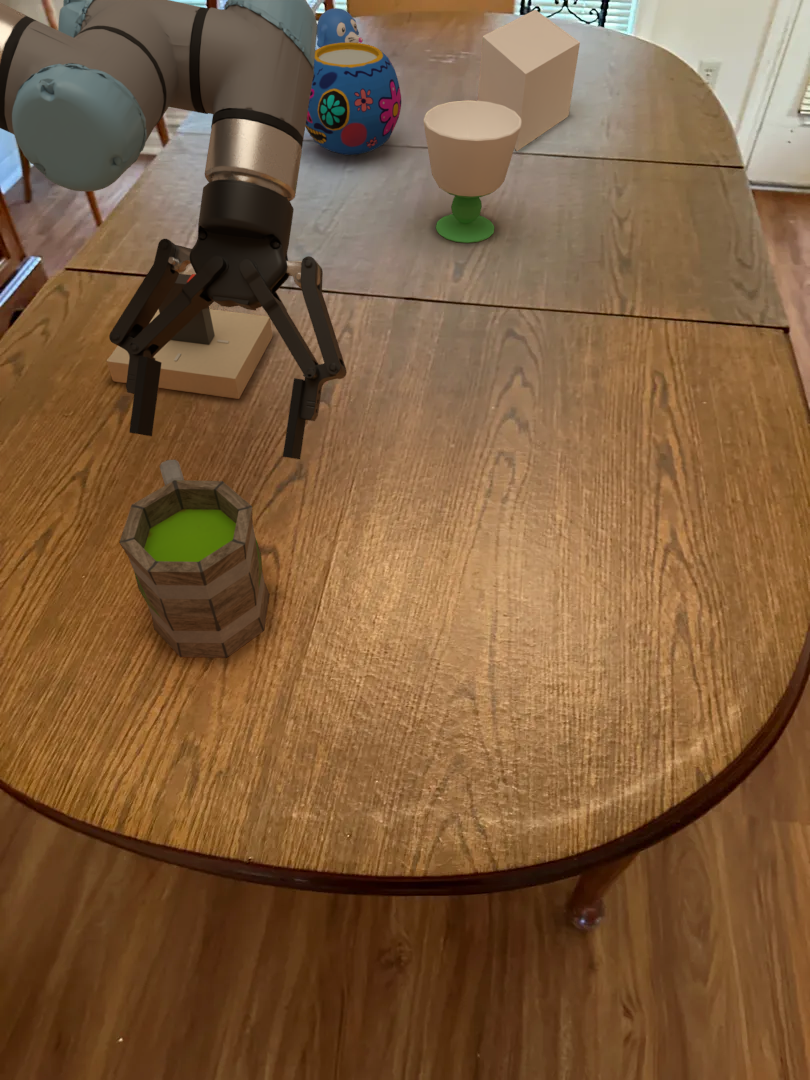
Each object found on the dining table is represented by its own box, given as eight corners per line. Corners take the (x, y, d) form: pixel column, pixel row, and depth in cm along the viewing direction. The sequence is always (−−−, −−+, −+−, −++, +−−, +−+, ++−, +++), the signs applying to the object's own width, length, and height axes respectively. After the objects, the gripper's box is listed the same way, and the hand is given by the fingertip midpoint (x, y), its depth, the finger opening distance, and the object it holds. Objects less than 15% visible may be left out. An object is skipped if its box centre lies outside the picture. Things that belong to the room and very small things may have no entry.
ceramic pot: (281, 146, 139) (270, 51, 128) (357, 120, 147) (354, 28, 136) (343, 180, 131) (338, 81, 119) (421, 150, 139) (423, 55, 127)
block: (467, 147, 140) (473, 70, 130) (484, 76, 162) (490, 6, 153) (566, 155, 138) (579, 77, 129) (569, 82, 161) (580, 12, 151)
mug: (285, 638, 71) (270, 552, 62) (165, 677, 68) (130, 593, 59) (242, 519, 80) (223, 429, 71) (135, 548, 77) (101, 459, 68)
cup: (422, 251, 116) (425, 139, 104) (418, 207, 125) (420, 100, 113) (515, 251, 116) (528, 139, 104) (504, 207, 125) (515, 99, 113)
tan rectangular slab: (112, 381, 95) (105, 359, 92) (156, 321, 103) (150, 300, 101) (239, 399, 93) (234, 377, 90) (272, 336, 101) (269, 315, 99)
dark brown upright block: (166, 339, 95) (150, 278, 89) (172, 330, 97) (157, 269, 90) (209, 345, 95) (196, 283, 89) (215, 335, 96) (202, 274, 90)
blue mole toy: (342, 70, 164) (340, 24, 158) (304, 56, 169) (300, 11, 163) (382, 56, 170) (382, 11, 163) (344, 43, 175) (342, -2, 169)
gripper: (402, 225, 68) (365, 469, 69) (131, 194, 71) (102, 428, 72) (388, 192, 60) (347, 466, 62) (86, 159, 63) (55, 421, 65)
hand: (215, 446), depth 67 cm, fingers open, 13 cm apart
